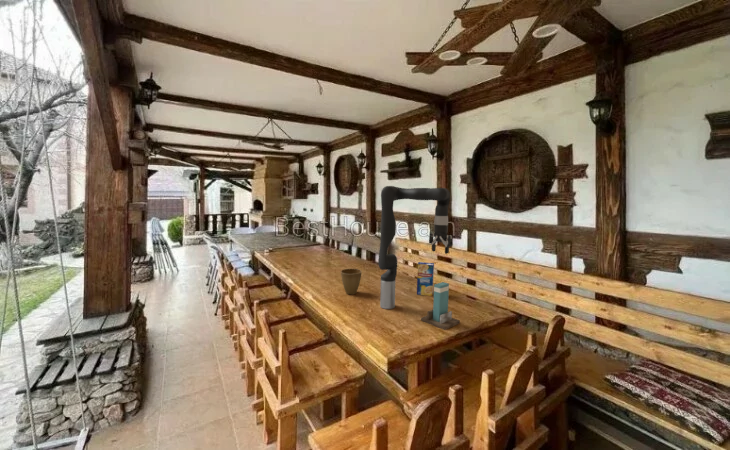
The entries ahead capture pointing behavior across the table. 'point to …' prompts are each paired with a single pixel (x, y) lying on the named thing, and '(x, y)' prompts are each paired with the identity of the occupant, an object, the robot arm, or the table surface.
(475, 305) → the table surface
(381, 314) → the table surface
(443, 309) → the book
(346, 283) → the plant pot
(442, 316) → the book rack
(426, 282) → the blue food box
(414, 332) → the table surface
